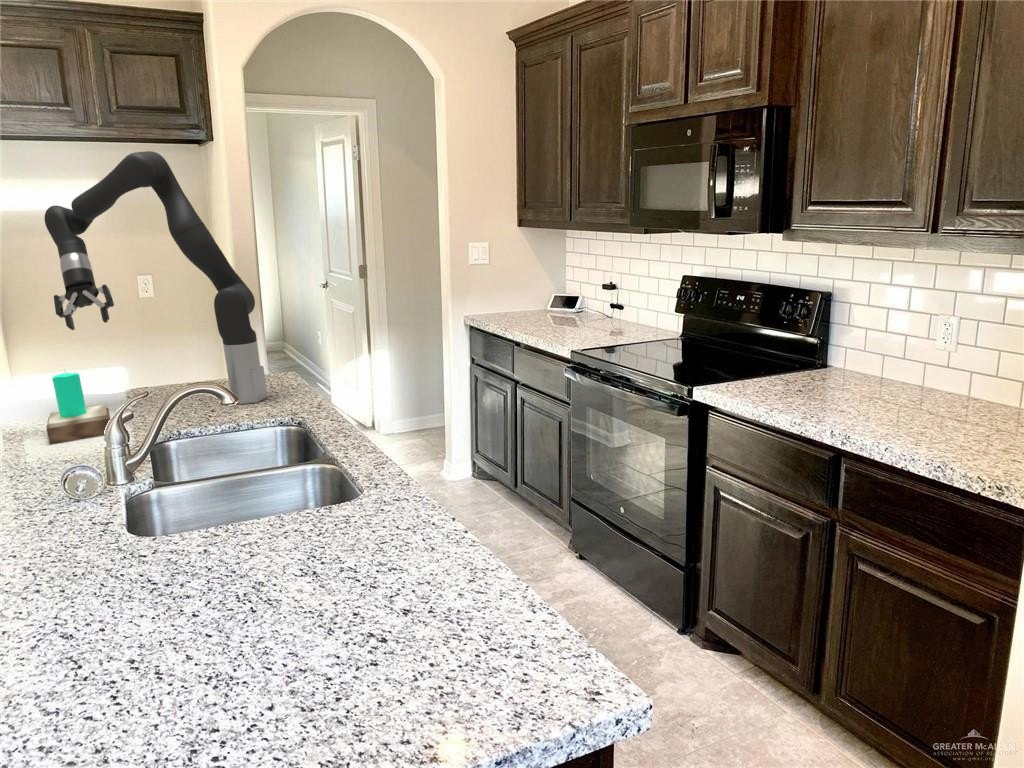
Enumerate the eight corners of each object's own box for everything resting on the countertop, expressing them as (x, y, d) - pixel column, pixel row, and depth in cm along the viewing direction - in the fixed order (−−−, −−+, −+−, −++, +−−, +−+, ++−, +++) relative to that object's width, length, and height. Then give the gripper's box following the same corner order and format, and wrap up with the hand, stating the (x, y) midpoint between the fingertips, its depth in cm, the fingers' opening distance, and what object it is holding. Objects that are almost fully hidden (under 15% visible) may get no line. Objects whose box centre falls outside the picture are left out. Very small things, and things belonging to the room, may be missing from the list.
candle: (78, 416, 192) (68, 371, 189) (55, 418, 192) (45, 372, 189) (91, 410, 198) (82, 366, 195) (69, 411, 198) (60, 367, 195)
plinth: (110, 421, 206) (107, 403, 204) (112, 433, 194) (109, 414, 192) (51, 431, 199) (47, 413, 198) (49, 444, 187) (45, 425, 186)
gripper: (44, 273, 206) (55, 327, 203) (99, 261, 210) (111, 314, 207) (55, 283, 213) (66, 336, 210) (108, 272, 217) (120, 323, 214)
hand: (88, 325), depth 208 cm, fingers open, 8 cm apart
